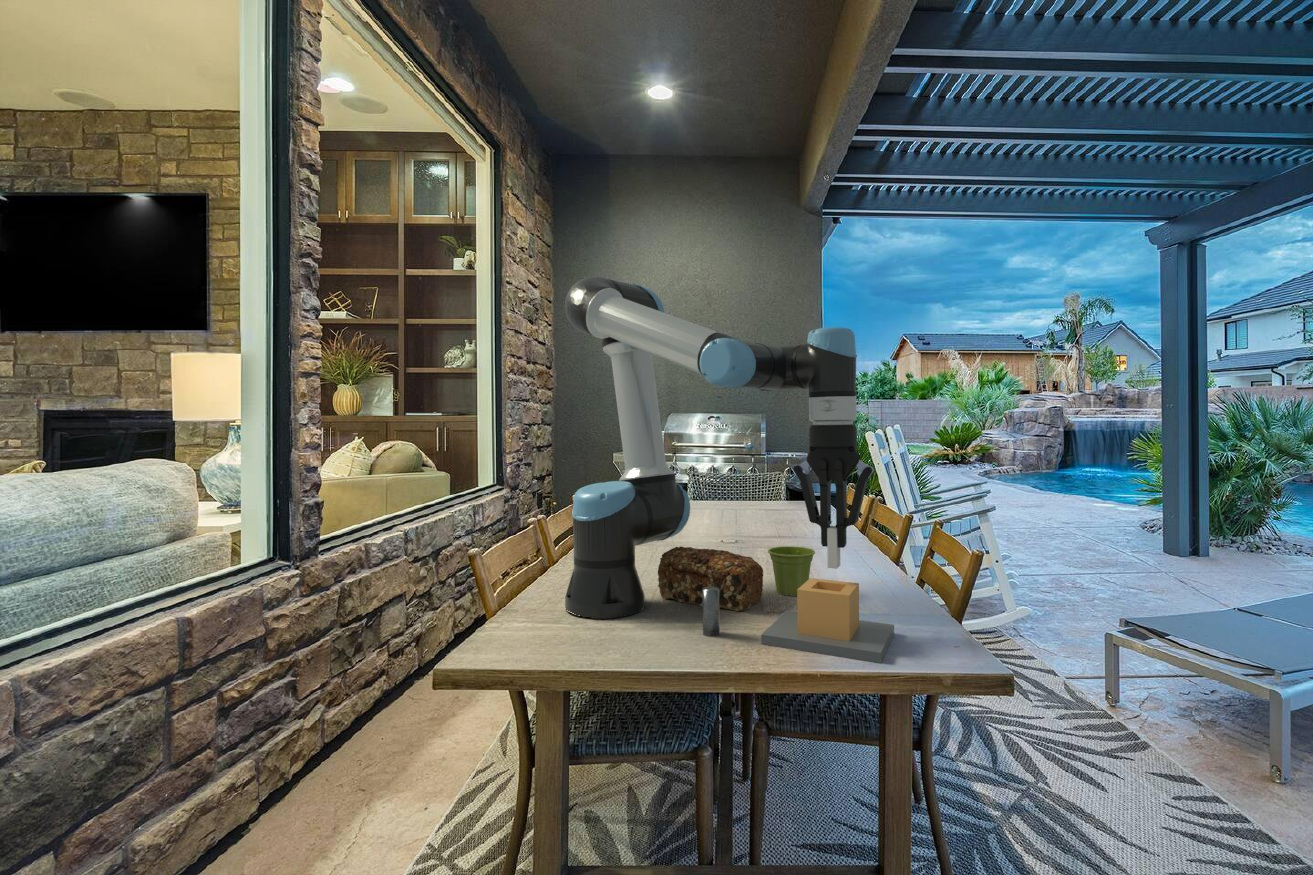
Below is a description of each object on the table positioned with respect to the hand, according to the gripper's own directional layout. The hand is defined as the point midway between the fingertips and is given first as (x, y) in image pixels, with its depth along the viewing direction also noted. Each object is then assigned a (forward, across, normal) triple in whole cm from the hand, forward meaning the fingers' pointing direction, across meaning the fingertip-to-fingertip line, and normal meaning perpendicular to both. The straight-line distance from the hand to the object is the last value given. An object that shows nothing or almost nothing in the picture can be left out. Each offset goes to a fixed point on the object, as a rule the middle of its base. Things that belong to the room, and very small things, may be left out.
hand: (834, 566), depth 105 cm
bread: (+11, -26, +9) cm, 30 cm away
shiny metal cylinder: (+11, -18, -9) cm, 23 cm away
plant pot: (+11, -13, +21) cm, 27 cm away
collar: (+10, 0, -3) cm, 10 cm away
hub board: (+11, 0, -3) cm, 12 cm away
